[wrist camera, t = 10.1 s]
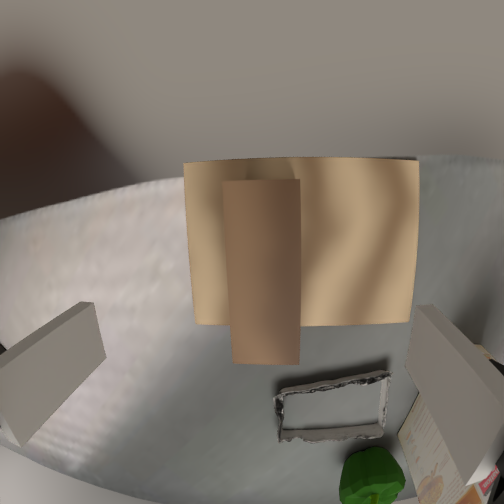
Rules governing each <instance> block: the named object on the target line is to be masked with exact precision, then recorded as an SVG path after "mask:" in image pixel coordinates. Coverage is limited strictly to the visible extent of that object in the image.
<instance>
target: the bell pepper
mask: <svg viewBox="0 0 504 504" xmlns="http://www.w3.org/2000/svg"><path fill="white" fill-rule="evenodd" d="M405 481H406V480H405V477H404V474H403V471H402V469H401V467H400V466H399V464H398V463H397V461H396V460H395V459H394V457H393V456H392V455H391V454H390V453H389V452H388V451H387V450H386V449H384V448H381V447H375V446H374V447H371V448H368V449H366V450H365V451H364V452H362V451H360V452H357V453H354V454H352V455H351V456H350V457H349V458H348V459H347V460H346V462H345V463H344V466H343V470H342V475H341V480H340V486H339V496H340V501H341V502H342V504H391V503H392V502H393V501H394V500H395V499H396V498H397V495H398V493H399V492H401V490H402V489H403V488H404V485H405Z"/></svg>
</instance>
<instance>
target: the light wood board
mask: <svg viewBox="0 0 504 504" xmlns="http://www.w3.org/2000/svg"><path fill="white" fill-rule="evenodd" d="M270 179H300V191H301V323H300V326H335V325H362V324H382V323H398V322H409V318H410V311H411V304H412V296H413V288H414V279H415V269H416V257H417V244H418V225H419V161H412V160H398V159H379V158H352V157H279V158H252V159H251V158H250V159H232V160H215V161H203V162H190V163H184V186H185V205H186V221H187V236H188V249H189V262H190V273H191V284H192V294H193V304H194V314H195V323H196V324H205V325H230V316H229V301H228V285H227V269H226V251H225V232H224V211H223V189H222V181H241V180H270Z"/></svg>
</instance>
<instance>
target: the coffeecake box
mask: <svg viewBox="0 0 504 504" xmlns="http://www.w3.org/2000/svg"><path fill="white" fill-rule="evenodd" d="M474 345H475V346H476V347H477V348H478V349H479V350H480V351H481V352H482V354H483V355H484V356H485V357H486V358H487V359H493V360H495V358H494V357H493V356H492V355H491V354H490V353H489V352H488V351H487V350H486V349H485V348H483V347H482V345H477V344H474ZM495 361H496V360H495ZM397 436H398V438H399V441H400V443H401V446H402V449H403V452H404V455H405V458H406V461H407V464H408V467H409V470H410V473H411V476H412V480H413V483H414V486H415V489H416V492H417V496H418V499H419V502H420V504H487V501H488V499H489V496H490V493H491V491H490V492H489V493H488V495H487V496H483V495H484V494H485V492H486V490H487V489H488V488H489V486H490V485H491V484H492V482H493V481H494V480H495V478H496V477H497V475H498V474H499V473H500V472H499V470H498V468H497V466H496V465H495V466H494V468H493V469H492V471H491V472H490V474H489V475H488V476H487V478H486V479H483V480H481V481H478V482H475V483H473V484H470V485H467V486H465V485H464V483H463V481H462V478H461V476H460V474H459V472H458V469H457V467H456V465H455V463H454V461H453V458H452V456H451V454H450V452H449V450H448V448H447V446H446V444H445V442H444V440H443V438H442V435H441V433H440V431H439V429H438V427H437V425H436V423H435V421H434V419H433V418H432V416H431V414H430V412H429V410H428V408H427V406H426V404H425V402H424V400H423V398H422V396H421V395H420V393H419V395H418V397H417V399H416V401H415V403H414V405H413V407H412V408H411V410H410V412H409V414H408V416H407V418H406V420H405V422H404V424H403V426H402V427H401V429H400V431H399V433H398V434H397Z"/></svg>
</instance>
